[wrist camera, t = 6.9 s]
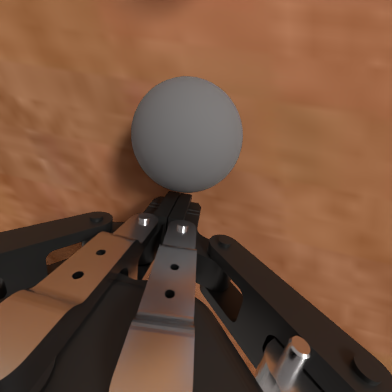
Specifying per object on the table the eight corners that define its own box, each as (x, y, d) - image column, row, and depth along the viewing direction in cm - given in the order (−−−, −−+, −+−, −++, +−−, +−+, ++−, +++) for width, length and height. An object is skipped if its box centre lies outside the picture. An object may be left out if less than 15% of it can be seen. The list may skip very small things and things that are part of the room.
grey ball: (275, 172, 8) (261, 111, 11) (152, 65, 6) (184, 33, 9) (189, 227, 11) (200, 166, 15) (93, 174, 9) (134, 118, 13)
